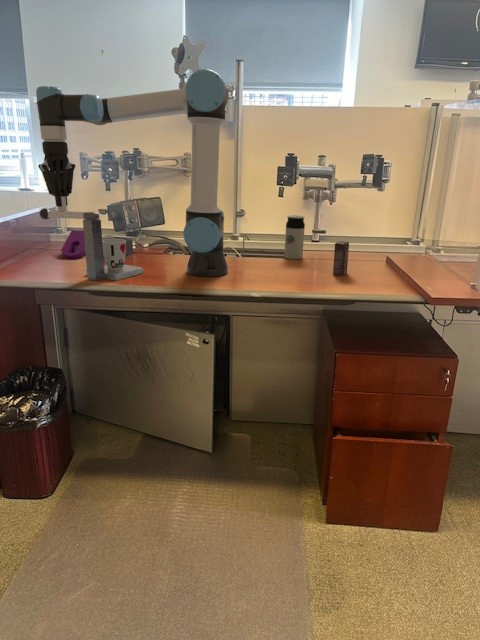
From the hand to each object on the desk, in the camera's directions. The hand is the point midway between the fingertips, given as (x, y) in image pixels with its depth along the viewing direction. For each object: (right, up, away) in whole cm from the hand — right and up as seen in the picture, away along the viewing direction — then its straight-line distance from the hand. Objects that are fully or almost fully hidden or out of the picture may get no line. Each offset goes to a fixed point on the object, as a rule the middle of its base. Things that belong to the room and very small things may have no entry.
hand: (63, 216), depth 155 cm
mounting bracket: (-9, -8, +42) cm, 43 cm away
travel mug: (+83, -8, +47) cm, 96 cm away
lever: (+3, -2, -2) cm, 4 cm away
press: (+14, -19, +9) cm, 25 cm away
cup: (+15, -17, +10) cm, 24 cm away
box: (+97, -18, +20) cm, 101 cm away
